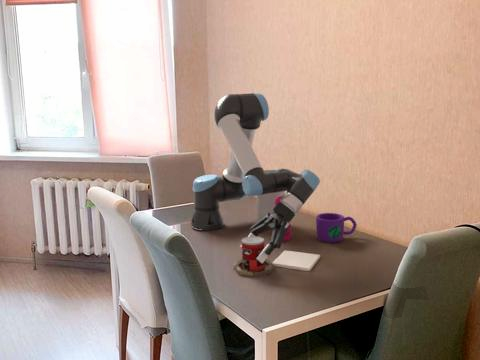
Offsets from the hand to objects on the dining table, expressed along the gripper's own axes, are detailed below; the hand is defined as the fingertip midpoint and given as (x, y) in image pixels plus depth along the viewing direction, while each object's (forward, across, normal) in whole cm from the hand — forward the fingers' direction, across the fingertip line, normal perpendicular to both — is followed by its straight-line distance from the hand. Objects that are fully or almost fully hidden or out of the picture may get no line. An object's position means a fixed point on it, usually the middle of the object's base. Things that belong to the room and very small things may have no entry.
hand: (250, 254), depth 165 cm
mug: (-28, -13, +36) cm, 48 cm away
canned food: (+3, 0, +5) cm, 6 cm away
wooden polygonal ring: (+3, 0, +5) cm, 6 cm away
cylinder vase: (-18, -42, +26) cm, 53 cm away
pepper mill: (-14, -24, +22) cm, 35 cm away
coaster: (-9, +1, +17) cm, 19 cm away
